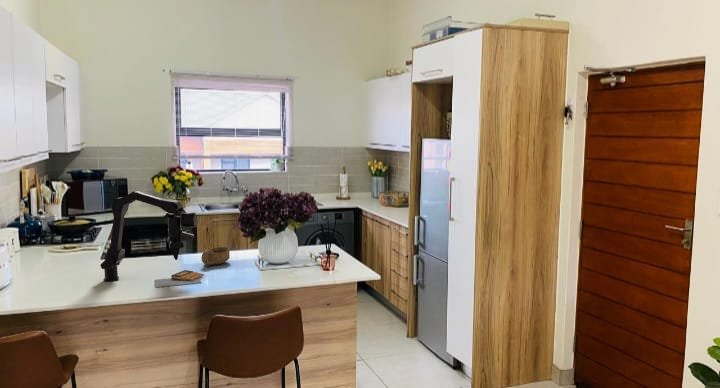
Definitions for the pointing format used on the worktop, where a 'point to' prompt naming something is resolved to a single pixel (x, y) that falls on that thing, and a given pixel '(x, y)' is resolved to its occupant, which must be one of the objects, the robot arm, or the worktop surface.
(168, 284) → the rubber mat
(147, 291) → the worktop surface
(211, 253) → the bowl
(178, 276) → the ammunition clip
